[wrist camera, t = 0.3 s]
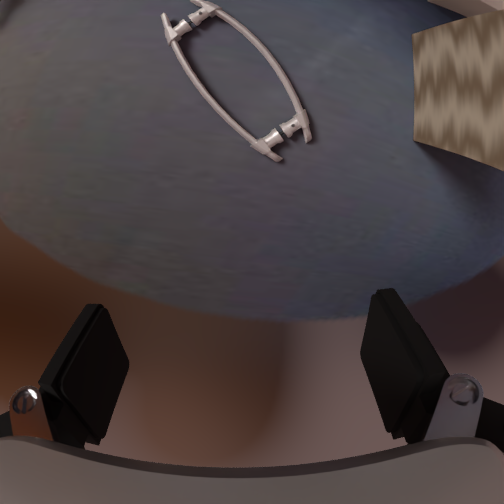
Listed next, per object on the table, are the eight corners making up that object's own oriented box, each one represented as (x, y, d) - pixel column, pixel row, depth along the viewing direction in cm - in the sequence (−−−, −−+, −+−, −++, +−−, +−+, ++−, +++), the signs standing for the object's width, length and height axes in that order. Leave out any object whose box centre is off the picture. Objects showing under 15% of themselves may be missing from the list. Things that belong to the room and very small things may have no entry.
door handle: (209, -12, 27) (324, 130, 36) (148, 32, 29) (262, 171, 38) (207, -19, 24) (330, 131, 33) (141, 27, 27) (263, 175, 36)
